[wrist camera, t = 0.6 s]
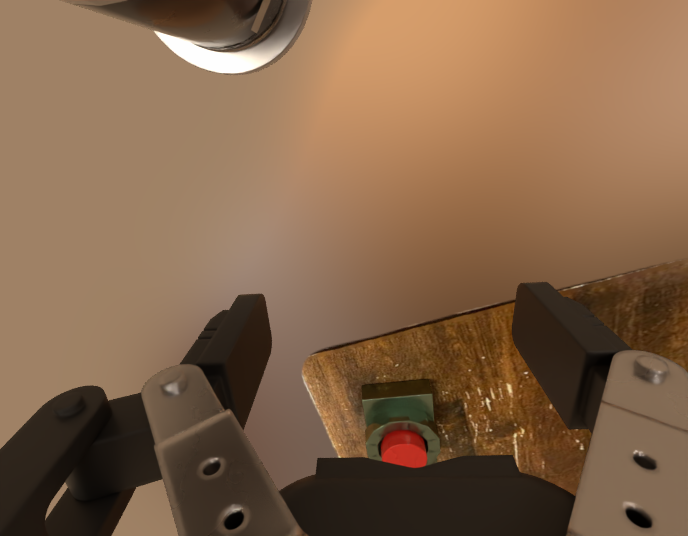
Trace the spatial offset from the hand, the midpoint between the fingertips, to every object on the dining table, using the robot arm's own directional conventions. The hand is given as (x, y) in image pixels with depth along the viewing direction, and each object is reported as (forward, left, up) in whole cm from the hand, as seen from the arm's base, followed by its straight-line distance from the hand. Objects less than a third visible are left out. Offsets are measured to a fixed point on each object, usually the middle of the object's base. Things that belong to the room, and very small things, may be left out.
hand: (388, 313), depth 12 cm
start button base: (+26, 0, -20) cm, 33 cm away
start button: (+26, 0, -17) cm, 31 cm away
